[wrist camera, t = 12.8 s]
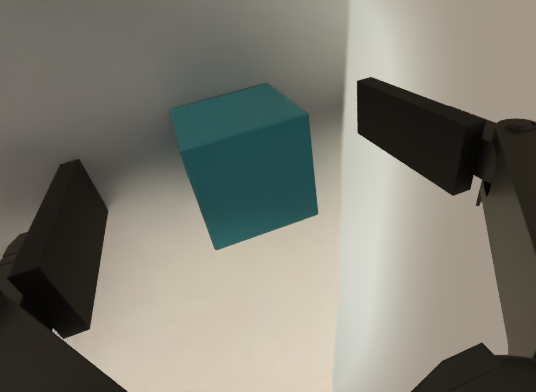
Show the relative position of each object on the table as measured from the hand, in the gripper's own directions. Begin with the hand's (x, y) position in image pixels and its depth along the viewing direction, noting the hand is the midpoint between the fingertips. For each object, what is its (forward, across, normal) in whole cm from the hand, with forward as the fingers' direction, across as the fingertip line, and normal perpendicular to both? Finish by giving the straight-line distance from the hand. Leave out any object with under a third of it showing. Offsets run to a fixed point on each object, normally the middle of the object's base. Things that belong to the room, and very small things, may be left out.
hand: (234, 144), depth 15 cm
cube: (0, 0, 0) cm, 0 cm away
